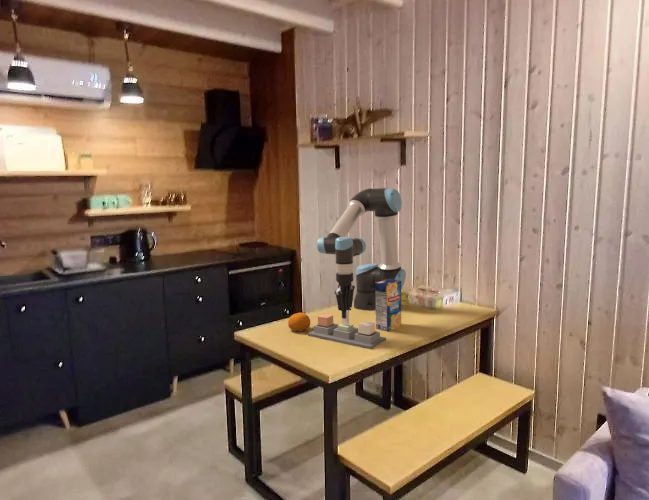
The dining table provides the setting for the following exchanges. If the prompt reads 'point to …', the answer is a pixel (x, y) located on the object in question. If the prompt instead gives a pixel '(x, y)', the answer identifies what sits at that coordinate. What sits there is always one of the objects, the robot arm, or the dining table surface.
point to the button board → (347, 336)
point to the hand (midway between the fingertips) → (345, 324)
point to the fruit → (299, 322)
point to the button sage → (346, 327)
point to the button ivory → (366, 328)
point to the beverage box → (388, 304)
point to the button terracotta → (325, 320)
